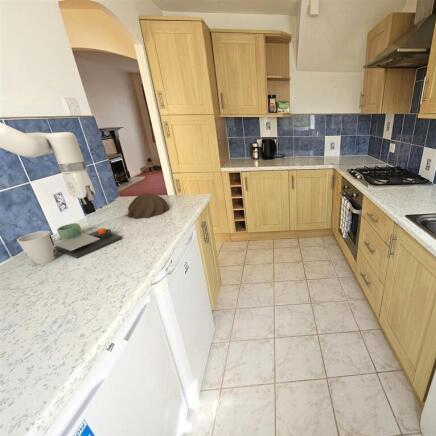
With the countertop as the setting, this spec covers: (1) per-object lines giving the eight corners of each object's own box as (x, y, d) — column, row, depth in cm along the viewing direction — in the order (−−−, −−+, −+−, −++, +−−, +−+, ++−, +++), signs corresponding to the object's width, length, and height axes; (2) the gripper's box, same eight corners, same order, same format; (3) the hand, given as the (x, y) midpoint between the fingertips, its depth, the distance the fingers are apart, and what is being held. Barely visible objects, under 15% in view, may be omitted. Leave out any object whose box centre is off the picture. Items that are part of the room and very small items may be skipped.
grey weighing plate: (53, 244, 92) (53, 244, 92) (83, 233, 101) (83, 233, 100) (70, 251, 87) (69, 250, 87) (100, 239, 96) (99, 238, 95)
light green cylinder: (58, 240, 102) (53, 228, 100) (78, 233, 108) (73, 222, 106) (67, 243, 99) (62, 231, 97) (87, 236, 105) (82, 224, 103)
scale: (56, 249, 95) (52, 243, 94) (101, 232, 108) (99, 226, 107) (77, 258, 88) (74, 251, 87) (123, 239, 102) (121, 232, 100)
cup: (64, 257, 89) (53, 233, 85) (35, 269, 83) (21, 243, 79) (56, 252, 93) (44, 228, 89) (27, 262, 87) (13, 238, 83)
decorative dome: (138, 206, 138) (133, 189, 134) (174, 204, 140) (170, 187, 136) (120, 219, 121) (114, 201, 117) (161, 217, 122) (156, 198, 118)
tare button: (96, 233, 101) (95, 230, 100) (104, 230, 103) (103, 227, 103) (100, 235, 100) (99, 231, 99) (108, 232, 102) (107, 228, 101)
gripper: (51, 167, 90) (69, 213, 98) (72, 170, 84) (90, 219, 92) (74, 164, 97) (90, 207, 104) (95, 166, 91) (111, 212, 98)
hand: (90, 212), depth 98 cm, fingers closed
